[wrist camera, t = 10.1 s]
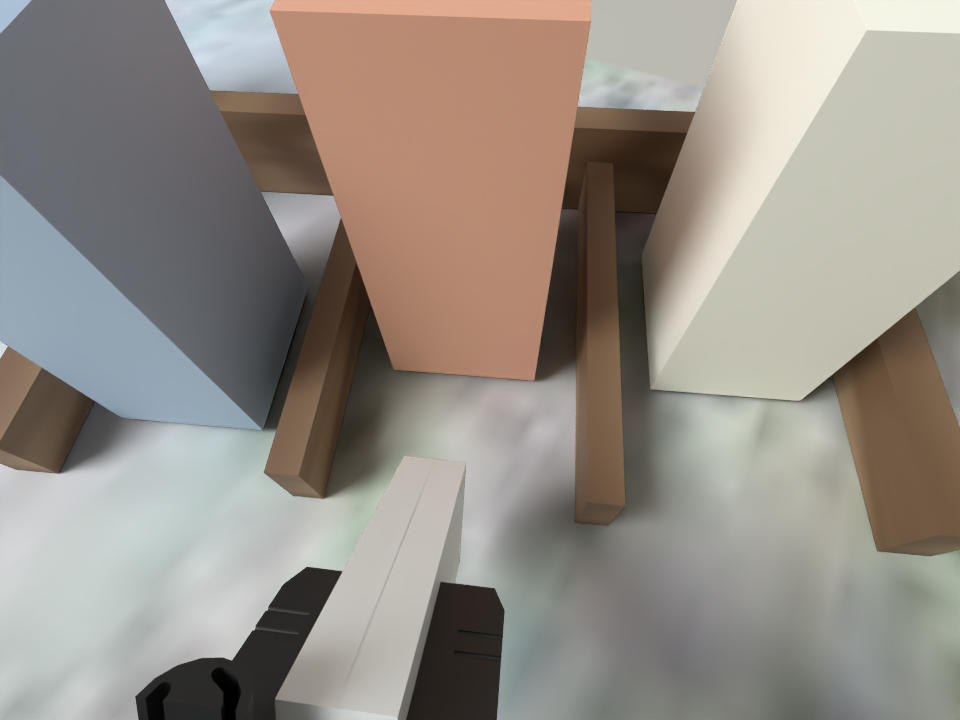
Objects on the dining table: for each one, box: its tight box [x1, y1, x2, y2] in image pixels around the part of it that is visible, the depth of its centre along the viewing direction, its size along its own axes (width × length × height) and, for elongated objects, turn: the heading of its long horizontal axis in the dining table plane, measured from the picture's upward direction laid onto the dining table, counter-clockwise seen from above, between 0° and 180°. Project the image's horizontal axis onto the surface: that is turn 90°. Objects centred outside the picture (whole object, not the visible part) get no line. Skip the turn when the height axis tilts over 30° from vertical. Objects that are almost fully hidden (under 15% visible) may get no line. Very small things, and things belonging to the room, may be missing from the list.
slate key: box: [0, 0, 308, 430], centre depth 14 cm, size 5×6×12 cm
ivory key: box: [642, 0, 960, 401], centre depth 14 cm, size 5×6×12 cm
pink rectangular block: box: [270, 0, 591, 381], centre depth 15 cm, size 5×6×12 cm
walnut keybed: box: [0, 90, 960, 556], centre depth 18 cm, size 29×14×4 cm, turn 84°
